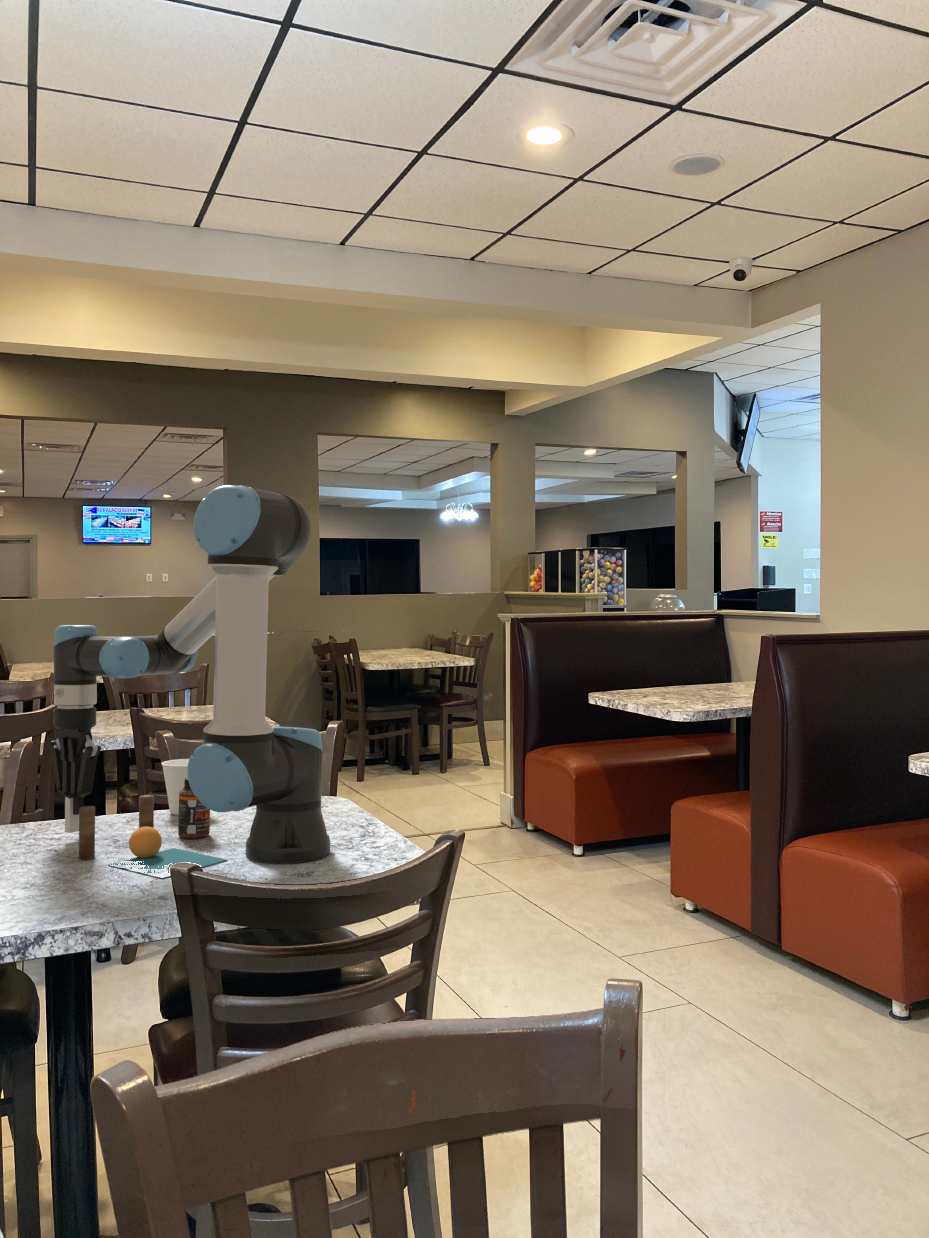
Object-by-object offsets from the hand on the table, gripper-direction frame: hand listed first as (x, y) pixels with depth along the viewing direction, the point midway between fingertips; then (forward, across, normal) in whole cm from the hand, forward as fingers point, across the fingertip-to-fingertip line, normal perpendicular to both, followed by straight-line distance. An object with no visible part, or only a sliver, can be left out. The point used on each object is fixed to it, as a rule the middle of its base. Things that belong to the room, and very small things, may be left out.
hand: (73, 830), depth 177 cm
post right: (+2, +13, +6) cm, 15 cm away
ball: (-1, +21, 0) cm, 21 cm away
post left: (+2, +13, -6) cm, 15 cm away
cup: (+2, -3, +29) cm, 29 cm away
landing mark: (+2, +27, 0) cm, 27 cm away
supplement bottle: (+2, +15, +16) cm, 22 cm away
